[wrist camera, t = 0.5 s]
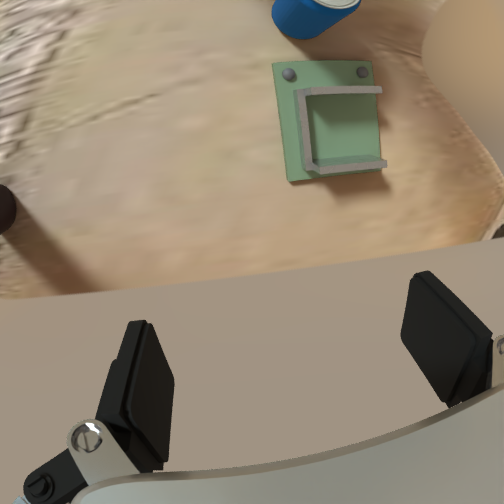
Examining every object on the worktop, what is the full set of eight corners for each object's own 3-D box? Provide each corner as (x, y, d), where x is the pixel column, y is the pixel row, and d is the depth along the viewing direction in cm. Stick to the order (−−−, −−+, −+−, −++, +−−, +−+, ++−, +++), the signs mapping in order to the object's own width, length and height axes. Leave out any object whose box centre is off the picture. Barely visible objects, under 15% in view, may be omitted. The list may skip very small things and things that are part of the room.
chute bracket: (292, 90, 31) (302, 87, 27) (363, 87, 31) (381, 86, 27) (301, 167, 35) (312, 175, 31) (369, 160, 35) (387, 167, 31)
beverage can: (334, 15, 28) (379, -16, 17) (306, 50, 30) (344, 26, 19) (289, -15, 26) (319, -59, 15) (259, 20, 28) (278, -18, 17)
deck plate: (271, 64, 31) (273, 62, 29) (367, 62, 31) (372, 60, 30) (286, 179, 37) (289, 182, 35) (377, 169, 37) (382, 171, 36)
